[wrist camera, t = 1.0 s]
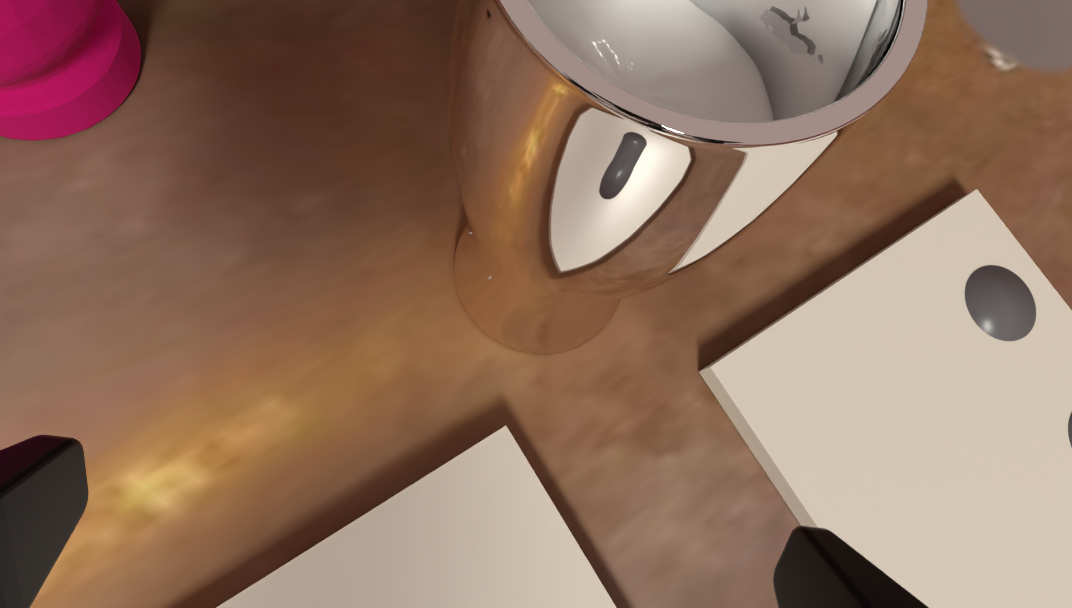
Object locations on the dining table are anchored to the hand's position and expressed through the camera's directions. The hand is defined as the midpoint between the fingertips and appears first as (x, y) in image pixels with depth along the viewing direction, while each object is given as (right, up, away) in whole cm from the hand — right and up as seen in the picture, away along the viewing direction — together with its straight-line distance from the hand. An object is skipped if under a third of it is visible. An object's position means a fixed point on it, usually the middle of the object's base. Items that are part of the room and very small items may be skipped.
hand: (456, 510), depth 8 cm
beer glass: (+1, +4, +15) cm, 16 cm away
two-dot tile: (+16, -2, +16) cm, 23 cm away
